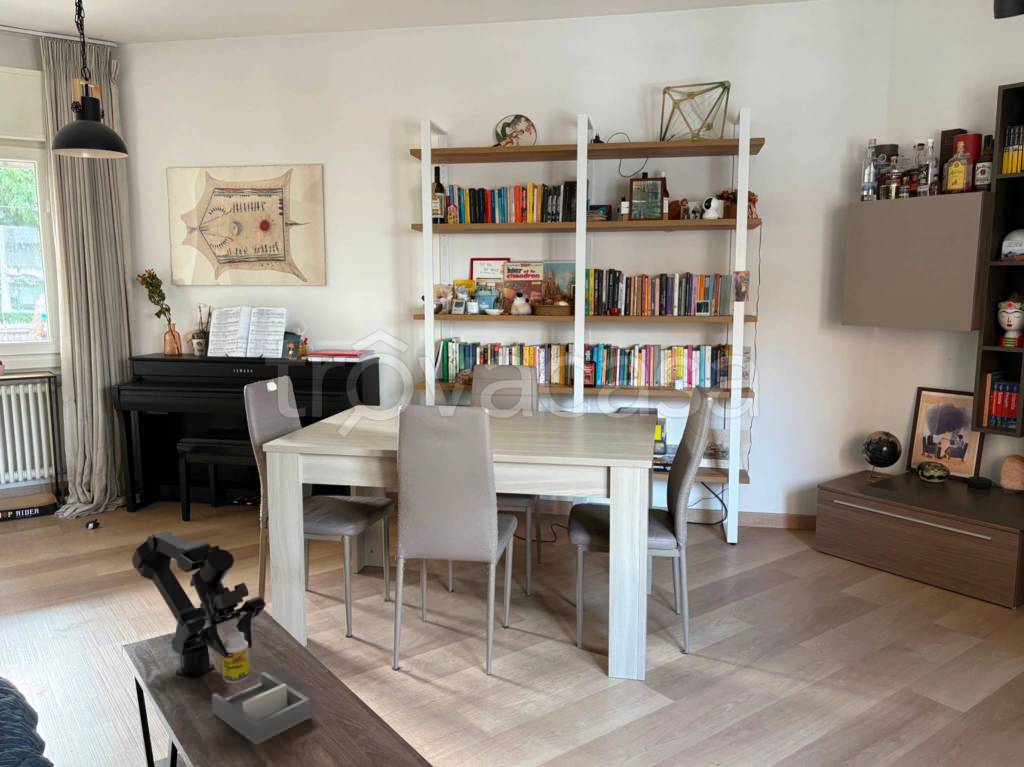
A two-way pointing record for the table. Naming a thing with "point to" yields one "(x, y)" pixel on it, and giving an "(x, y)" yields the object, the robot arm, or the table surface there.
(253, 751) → the table surface
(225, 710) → the pusher lane
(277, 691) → the pusher plate
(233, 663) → the supplement bottle
